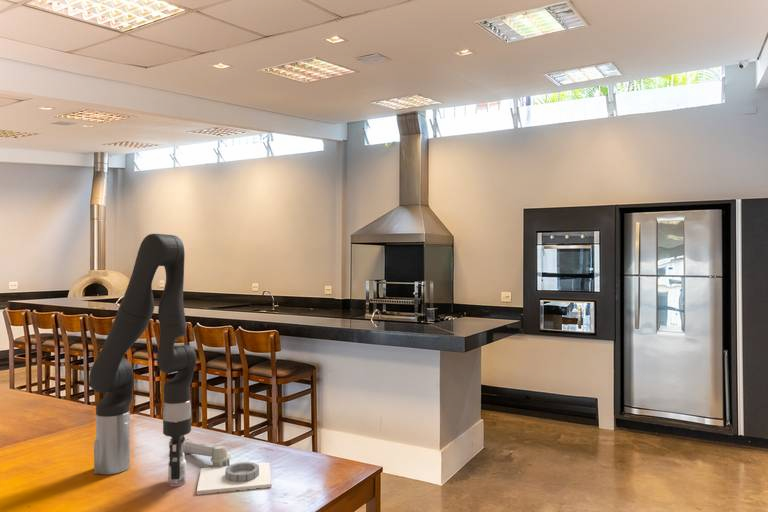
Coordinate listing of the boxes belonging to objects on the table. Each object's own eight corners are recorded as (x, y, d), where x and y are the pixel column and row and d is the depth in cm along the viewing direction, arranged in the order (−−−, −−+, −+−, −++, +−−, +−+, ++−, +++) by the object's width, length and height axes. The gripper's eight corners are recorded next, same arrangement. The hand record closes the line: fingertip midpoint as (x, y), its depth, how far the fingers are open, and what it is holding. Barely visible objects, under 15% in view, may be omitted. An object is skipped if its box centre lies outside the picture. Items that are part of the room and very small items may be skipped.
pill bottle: (171, 479, 164) (171, 451, 163) (188, 479, 164) (188, 450, 164) (166, 487, 159) (166, 457, 159) (183, 486, 159) (183, 456, 159)
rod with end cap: (186, 436, 190) (232, 442, 174) (188, 456, 189) (234, 464, 174) (172, 440, 185) (218, 447, 170) (173, 461, 185) (220, 469, 170)
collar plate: (196, 494, 154) (196, 483, 154) (201, 471, 170) (201, 461, 170) (271, 487, 159) (271, 476, 159) (269, 465, 174) (269, 456, 174)
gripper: (166, 410, 167) (166, 464, 167) (159, 425, 153) (159, 484, 154) (193, 408, 169) (193, 462, 169) (188, 423, 155) (188, 481, 155)
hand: (177, 472), depth 161 cm, fingers open, 8 cm apart
